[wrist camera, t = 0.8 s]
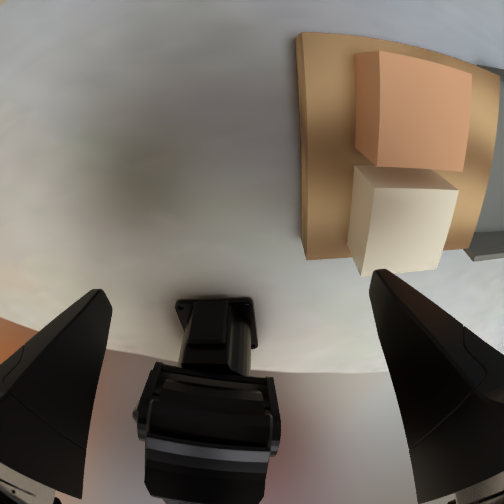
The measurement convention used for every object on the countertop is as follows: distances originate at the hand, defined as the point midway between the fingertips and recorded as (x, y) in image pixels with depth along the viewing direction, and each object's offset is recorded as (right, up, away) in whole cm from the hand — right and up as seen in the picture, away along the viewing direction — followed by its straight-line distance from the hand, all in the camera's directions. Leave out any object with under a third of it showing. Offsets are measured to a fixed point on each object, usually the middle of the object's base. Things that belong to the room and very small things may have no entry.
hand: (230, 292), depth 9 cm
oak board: (+10, +8, +7) cm, 14 cm away
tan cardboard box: (+8, +9, +3) cm, 12 cm away
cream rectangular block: (+9, +4, +6) cm, 11 cm away
